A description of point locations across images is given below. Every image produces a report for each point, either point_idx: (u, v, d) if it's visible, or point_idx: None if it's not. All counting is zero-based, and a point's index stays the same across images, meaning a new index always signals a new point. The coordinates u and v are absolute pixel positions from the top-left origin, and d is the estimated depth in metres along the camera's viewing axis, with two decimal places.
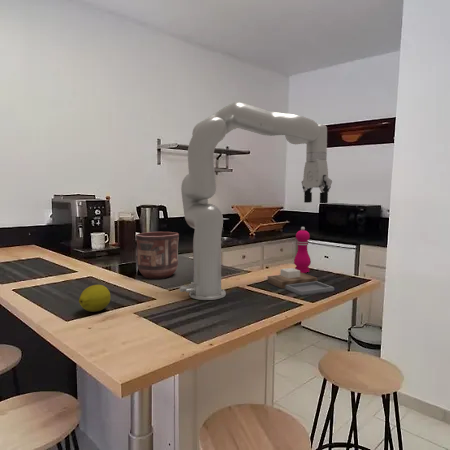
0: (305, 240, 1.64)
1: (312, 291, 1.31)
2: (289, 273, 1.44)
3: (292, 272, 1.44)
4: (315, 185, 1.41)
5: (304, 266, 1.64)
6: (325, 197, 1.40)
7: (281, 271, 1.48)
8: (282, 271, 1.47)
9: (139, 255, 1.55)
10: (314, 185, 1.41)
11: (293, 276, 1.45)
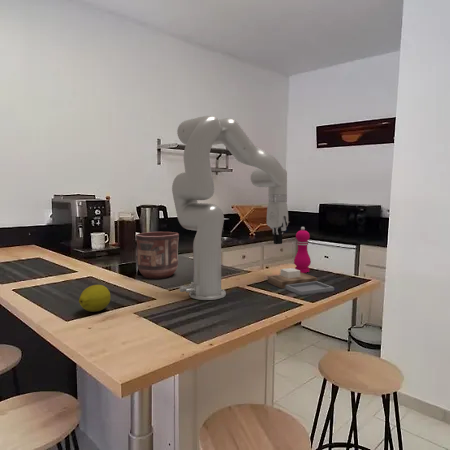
0: (305, 240, 1.64)
1: (312, 291, 1.31)
2: (289, 273, 1.44)
3: (292, 272, 1.44)
4: (276, 225, 1.51)
5: (304, 266, 1.64)
6: (279, 238, 1.54)
7: (281, 271, 1.48)
8: (282, 271, 1.47)
9: (139, 255, 1.55)
10: (275, 225, 1.51)
11: (293, 276, 1.45)
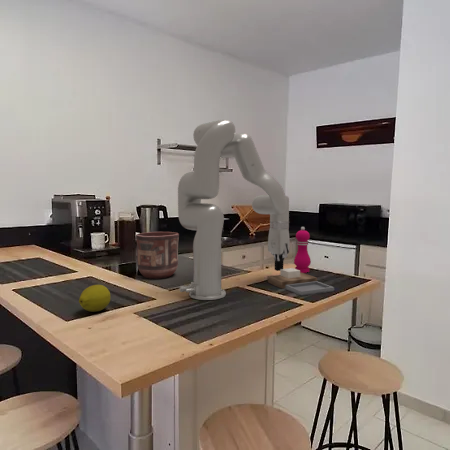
0: (305, 240, 1.64)
1: (312, 291, 1.31)
2: (289, 273, 1.44)
3: (292, 272, 1.44)
4: (277, 252, 1.50)
5: (304, 266, 1.64)
6: (280, 265, 1.53)
7: (281, 271, 1.48)
8: (282, 271, 1.47)
9: (139, 255, 1.55)
10: (276, 252, 1.50)
11: (293, 276, 1.45)
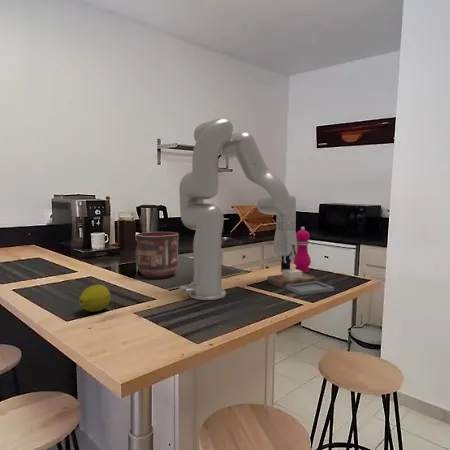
0: (305, 240, 1.64)
1: (312, 291, 1.31)
2: (291, 274, 1.43)
3: (294, 273, 1.44)
4: (284, 254, 1.46)
5: (304, 266, 1.64)
6: (287, 267, 1.49)
7: (283, 272, 1.47)
8: (284, 272, 1.46)
9: (139, 255, 1.55)
10: (283, 254, 1.46)
11: (295, 277, 1.44)
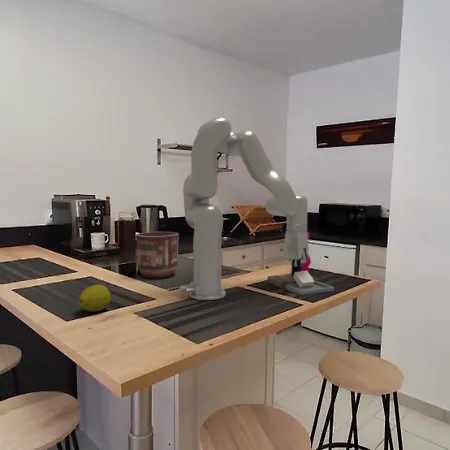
0: None
1: (312, 291, 1.31)
2: (303, 284, 1.37)
3: (306, 283, 1.37)
4: (295, 258, 1.39)
5: (304, 266, 1.64)
6: (298, 271, 1.42)
7: (295, 275, 1.40)
8: (296, 276, 1.39)
9: (139, 255, 1.55)
10: (294, 257, 1.39)
11: (306, 286, 1.39)
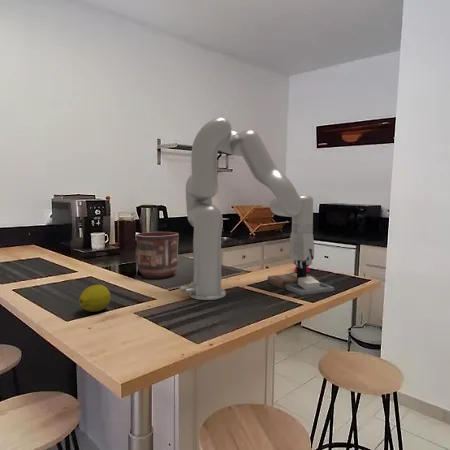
0: None
1: (312, 291, 1.31)
2: (308, 285, 1.34)
3: (311, 284, 1.35)
4: (301, 259, 1.36)
5: None
6: (304, 273, 1.39)
7: (299, 280, 1.38)
8: (300, 281, 1.37)
9: (139, 255, 1.55)
10: (300, 259, 1.36)
11: (312, 288, 1.35)
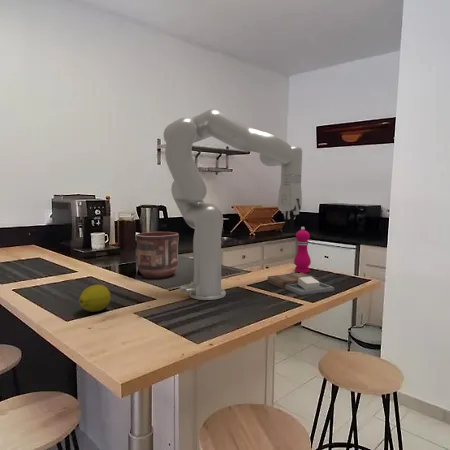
0: (305, 240, 1.64)
1: (312, 291, 1.31)
2: (308, 285, 1.34)
3: (311, 284, 1.35)
4: (288, 208, 1.37)
5: (304, 266, 1.64)
6: (291, 224, 1.41)
7: (299, 280, 1.38)
8: (300, 281, 1.37)
9: (139, 255, 1.55)
10: (287, 208, 1.38)
11: (312, 288, 1.35)
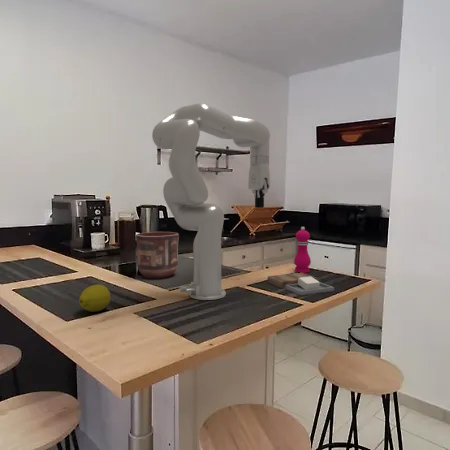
0: (305, 240, 1.64)
1: (312, 291, 1.31)
2: (308, 285, 1.34)
3: (311, 284, 1.35)
4: (257, 187, 1.46)
5: (304, 266, 1.64)
6: (261, 202, 1.50)
7: (299, 280, 1.38)
8: (300, 281, 1.37)
9: (139, 255, 1.55)
10: (256, 187, 1.47)
11: (312, 288, 1.35)
